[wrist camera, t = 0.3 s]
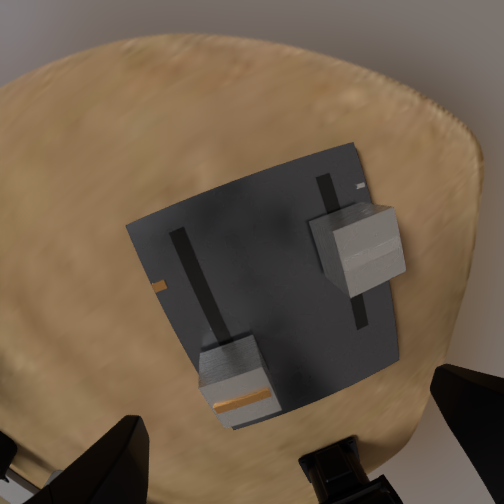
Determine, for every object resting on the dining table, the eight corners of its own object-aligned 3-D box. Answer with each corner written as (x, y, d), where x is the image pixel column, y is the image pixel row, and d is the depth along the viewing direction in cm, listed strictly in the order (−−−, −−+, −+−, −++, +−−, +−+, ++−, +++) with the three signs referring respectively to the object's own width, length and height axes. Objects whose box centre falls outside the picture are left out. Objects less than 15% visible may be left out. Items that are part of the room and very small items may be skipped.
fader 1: (271, 375, 21) (282, 411, 17) (221, 392, 21) (225, 430, 17) (253, 334, 20) (262, 368, 16) (199, 353, 20) (198, 390, 16)
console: (393, 354, 24) (399, 360, 23) (232, 422, 23) (233, 430, 22) (347, 143, 19) (353, 141, 18) (129, 223, 19) (124, 225, 17)
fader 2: (374, 255, 20) (408, 271, 16) (325, 276, 20) (351, 299, 16) (361, 201, 19) (395, 207, 15) (308, 221, 19) (334, 231, 15)
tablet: (60, 523, 27) (58, 531, 25) (-44, 449, 21) (-49, 455, 19) (82, 510, 27) (80, 520, 24) (-45, 417, 20) (-51, 425, 18)
